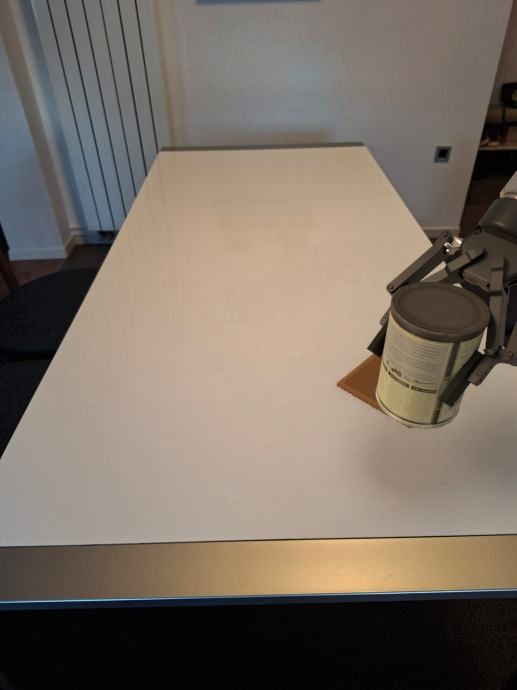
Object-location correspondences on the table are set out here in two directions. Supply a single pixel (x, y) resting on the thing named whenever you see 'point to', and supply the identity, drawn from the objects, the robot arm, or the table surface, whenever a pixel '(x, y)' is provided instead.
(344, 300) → the table surface
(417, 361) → the coffee can
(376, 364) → the cork mat
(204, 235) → the table surface
